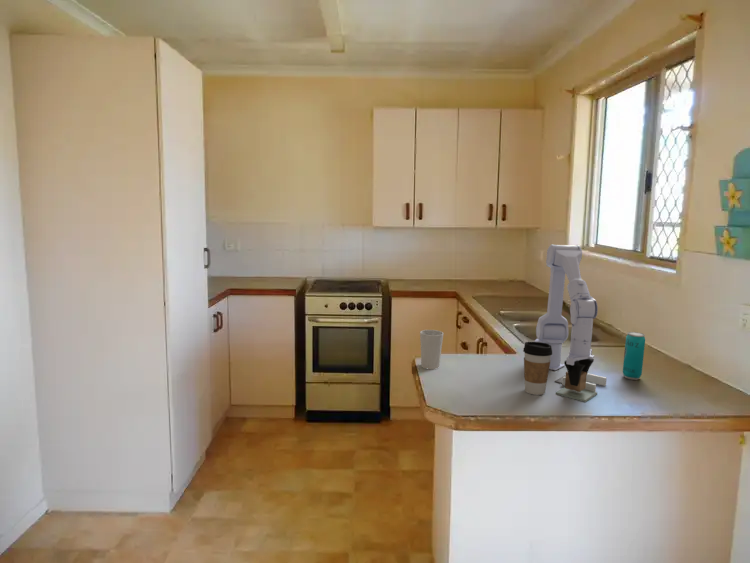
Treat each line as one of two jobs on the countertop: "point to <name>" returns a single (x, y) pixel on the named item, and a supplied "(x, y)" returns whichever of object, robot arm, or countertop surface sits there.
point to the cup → (431, 348)
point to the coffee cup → (536, 366)
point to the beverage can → (633, 355)
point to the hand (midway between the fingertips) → (577, 383)
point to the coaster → (577, 394)
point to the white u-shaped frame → (589, 378)
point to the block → (580, 386)
